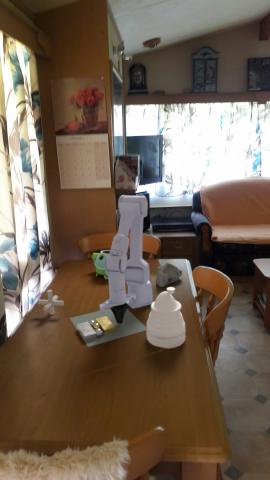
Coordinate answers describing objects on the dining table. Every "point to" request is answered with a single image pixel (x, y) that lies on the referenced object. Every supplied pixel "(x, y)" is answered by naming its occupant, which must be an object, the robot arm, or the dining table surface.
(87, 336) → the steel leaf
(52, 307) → the pipe connector
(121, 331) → the mat
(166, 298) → the honey pot
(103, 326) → the tan knobbed block
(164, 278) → the mineral rock
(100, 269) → the turtle holder
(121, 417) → the dining table surface
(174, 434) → the dining table surface
